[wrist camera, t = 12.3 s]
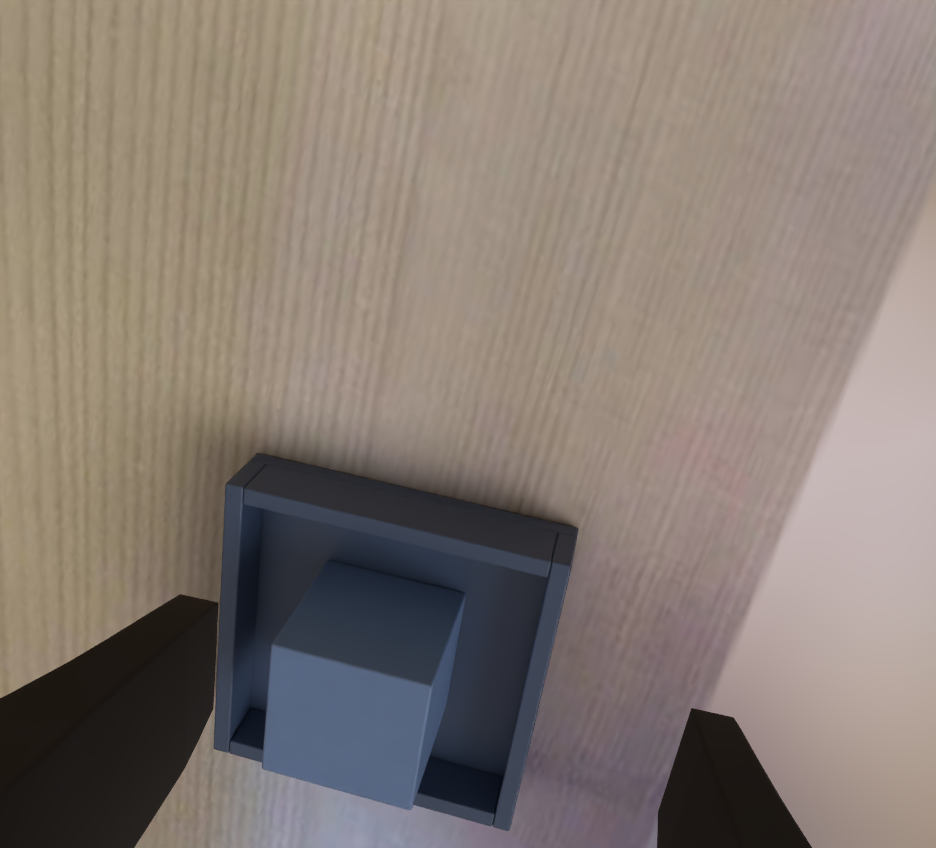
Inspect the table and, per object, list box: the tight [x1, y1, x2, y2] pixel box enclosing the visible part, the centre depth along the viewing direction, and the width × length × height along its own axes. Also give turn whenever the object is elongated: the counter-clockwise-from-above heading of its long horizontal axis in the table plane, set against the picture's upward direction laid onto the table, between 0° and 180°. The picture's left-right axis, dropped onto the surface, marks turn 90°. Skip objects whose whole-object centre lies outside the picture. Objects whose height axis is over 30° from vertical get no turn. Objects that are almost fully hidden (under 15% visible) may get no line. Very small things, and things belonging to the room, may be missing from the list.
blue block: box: [262, 560, 466, 810], centre depth 24 cm, size 4×4×4 cm
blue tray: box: [214, 453, 578, 831], centre depth 25 cm, size 9×9×2 cm
